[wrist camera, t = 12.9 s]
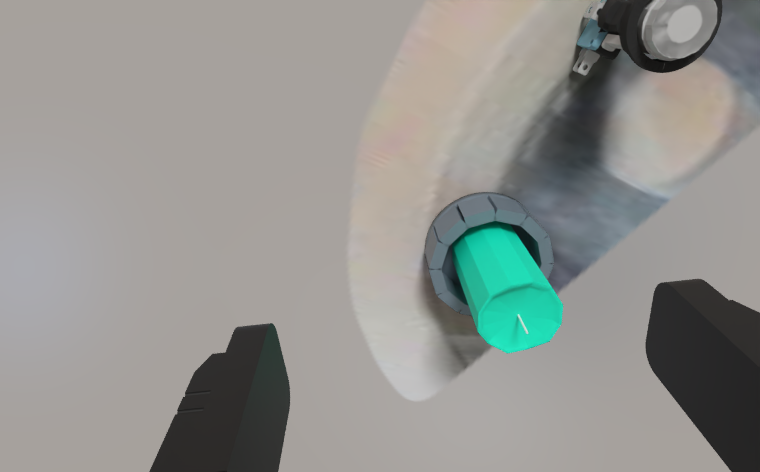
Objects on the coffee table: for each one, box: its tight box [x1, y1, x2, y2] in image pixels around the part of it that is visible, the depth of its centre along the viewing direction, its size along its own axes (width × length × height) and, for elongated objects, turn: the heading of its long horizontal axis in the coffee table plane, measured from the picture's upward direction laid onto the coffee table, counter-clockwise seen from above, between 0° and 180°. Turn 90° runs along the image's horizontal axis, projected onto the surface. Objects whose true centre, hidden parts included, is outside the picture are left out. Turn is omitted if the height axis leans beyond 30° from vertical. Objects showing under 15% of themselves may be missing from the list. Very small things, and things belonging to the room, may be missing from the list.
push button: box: [573, 0, 722, 75], centre depth 31 cm, size 7×5×10 cm
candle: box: [452, 221, 563, 353], centre depth 37 cm, size 6×6×12 cm
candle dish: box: [425, 192, 554, 316], centre depth 42 cm, size 10×10×4 cm
